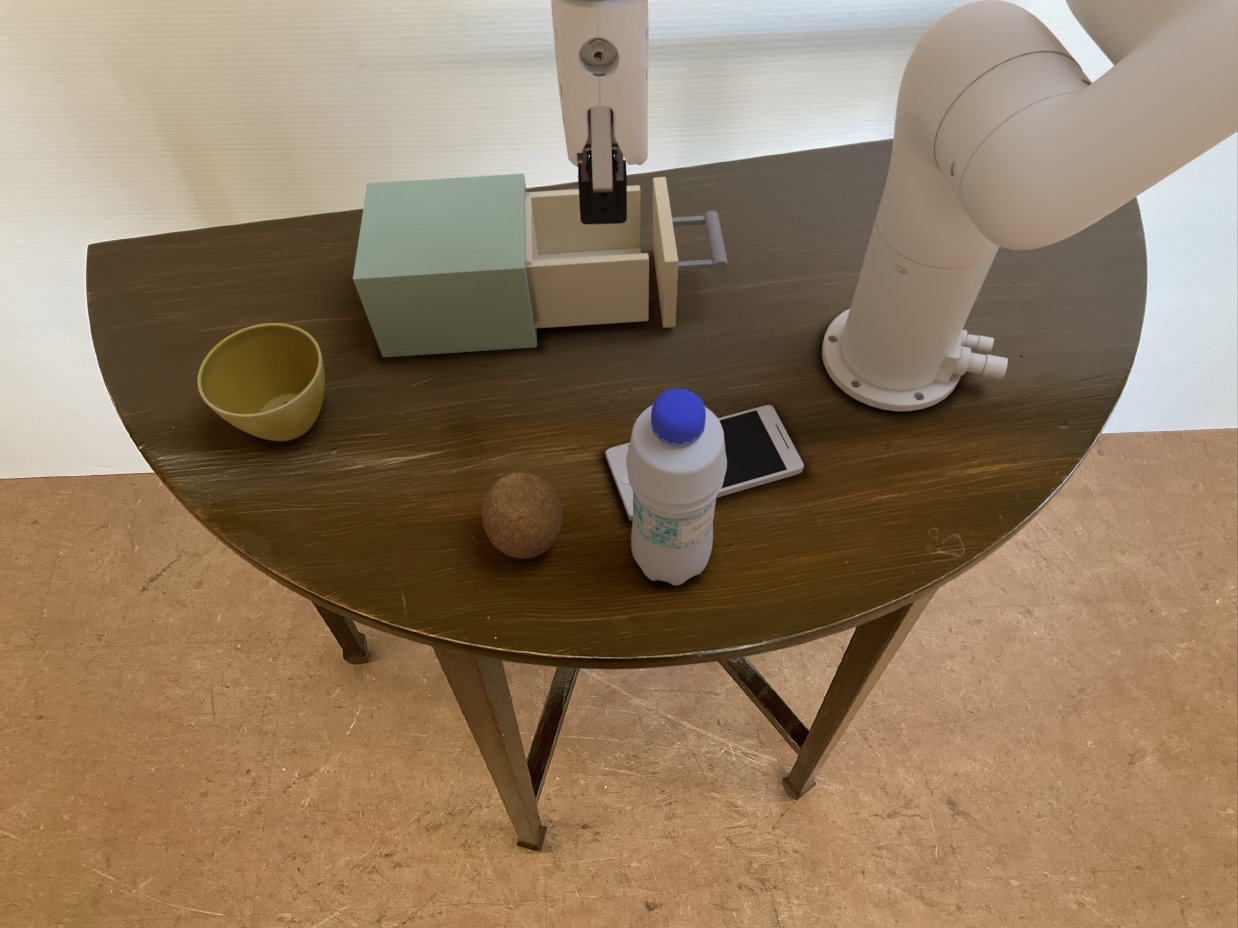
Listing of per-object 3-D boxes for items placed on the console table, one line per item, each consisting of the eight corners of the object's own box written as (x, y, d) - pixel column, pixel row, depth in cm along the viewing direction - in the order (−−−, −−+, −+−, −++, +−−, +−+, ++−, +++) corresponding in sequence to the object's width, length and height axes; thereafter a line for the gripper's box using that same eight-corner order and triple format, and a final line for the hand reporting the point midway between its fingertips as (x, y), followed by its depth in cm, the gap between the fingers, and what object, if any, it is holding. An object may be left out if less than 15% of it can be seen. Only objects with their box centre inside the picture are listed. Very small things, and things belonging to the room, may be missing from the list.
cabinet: (535, 255, 88) (524, 173, 80) (537, 347, 81) (524, 268, 73) (393, 264, 88) (366, 183, 79) (382, 357, 81) (352, 279, 72)
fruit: (520, 590, 67) (506, 541, 60) (474, 537, 70) (457, 484, 63) (582, 544, 69) (575, 492, 62) (535, 494, 72) (524, 439, 65)
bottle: (681, 610, 66) (694, 466, 49) (611, 564, 68) (602, 411, 51) (729, 548, 69) (756, 392, 52) (661, 506, 71) (666, 343, 54)
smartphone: (604, 454, 74) (604, 448, 73) (770, 409, 76) (771, 402, 75) (630, 523, 70) (630, 517, 69) (803, 473, 72) (805, 466, 71)
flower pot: (367, 417, 77) (344, 365, 71) (271, 486, 73) (238, 437, 67) (305, 358, 81) (278, 305, 75) (210, 420, 77) (174, 369, 71)
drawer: (711, 241, 87) (717, 173, 80) (727, 323, 81) (734, 257, 74) (531, 253, 87) (522, 185, 80) (532, 336, 81) (522, 271, 74)
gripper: (676, 10, 40) (663, 291, 56) (659, -129, 49) (651, 148, 64) (518, 14, 40) (548, 294, 56) (527, -126, 49) (551, 151, 64)
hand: (603, 216), depth 60 cm, fingers closed
